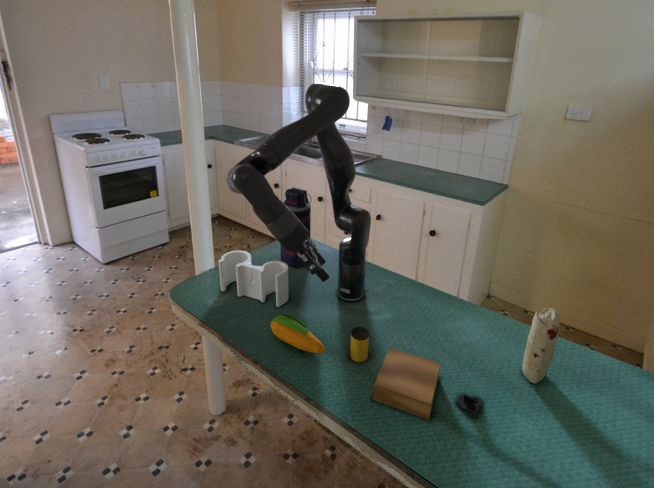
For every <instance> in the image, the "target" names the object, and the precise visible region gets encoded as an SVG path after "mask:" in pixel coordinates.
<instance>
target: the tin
mask: <svg viewBox="0 0 654 488" xmlns="http://www.w3.org/2000/svg"><path fill="white" fill-rule="evenodd" d="M369 344H370V331H369V329H367V328H366V327H363V326H356V327H353V328H352V329H351V332H350V348H349V349H350V350H349V351H350V353H349V356H350V358H351V360H352V361H353V362H356V363H363V362H365V361H366V360H367V359H368V357H369Z"/></svg>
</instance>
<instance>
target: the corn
mask: <svg viewBox="0 0 654 488" xmlns="http://www.w3.org/2000/svg"><path fill="white" fill-rule="evenodd" d="M269 326H270V327H269V328H270V331H271V333H272V335H273V336H274V337H275V338H276V339H277V340H278V341H280V342H282V343H283V344H284V345H286V346H288V347H290V348H291V349H293V350H296V351H297V352H299V353H303V351H305V352H307V353H312V354H324V353H325V351H326V348H325V346H324V344H323V343H322V341H320V340H319V339H318V338H317V337H316V336H315V335H314V334H313V333H312V332H311V331H309V330H308V329H307V327H308V326H307V325H305V324H304V323H303V322H302V321H301V320H299V319H297V318H296V317H294V316H292V315H290V314H279V315H277V316H275V317H274V318H273V319H272V320H271V322H270V325H269Z"/></svg>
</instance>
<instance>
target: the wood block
mask: <svg viewBox="0 0 654 488" xmlns="http://www.w3.org/2000/svg"><path fill="white" fill-rule="evenodd" d="M441 364H442V363H441V362H438V361H435V360H433V359H429V358H426V357H423V356H419V355H416V354H412V353H409V352H406V351H403V350H400V349H397V348H393V347H390V346H389V347H388V350H387V353H386V354H385V357H384V359H383V362H382V364H381V367H380V370H379V372H378V374H377V376H376V379H375V381H374V384H373V393H372V394H373V396H372V400H373V401H376V402H378V403H381V404H384V405H387V406H390V407H392V408H395V409H397V410H401V411H403V412H406V413H409V414H411V415H414V416H417V417H420V418H423V419H425V420H430V417H431V413H432V409H433V404H434V400H435V395H436V391H437V387H438V381H439V378H440V371H441V366H442V365H441Z"/></svg>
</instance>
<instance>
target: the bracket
mask: <svg viewBox="0 0 654 488" xmlns="http://www.w3.org/2000/svg"><path fill="white" fill-rule="evenodd" d="M252 263H253V262H252V254H251V253H250V252H248V251H246V250H241V249H240V250H231V251H228V252H225V253H224V254H223V255H222V256H221V257H220V259H219V260H218V270H219V281H220V283H219V284H220V291H221V292H225V291H226V290H227V287H228V286H229V285H231V284H232V283H234V282H236V289H237V297H239V298H241V297H244V296H245V297H248V298H251V299H254V300H258V301H260V302H261V303H264V302H266V297H267V296H268V295H270V294H272V293H275V302H276V304H275V305H276V308H280V307H281V306H282V305H285V304H286V303H287V302H288V301H289V296H290V295H289V293H290V292H289V264H286V263H284V262H282V260H270V261H267V262H265V263H264V264H262V266H261V265H253V264H252Z"/></svg>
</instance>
